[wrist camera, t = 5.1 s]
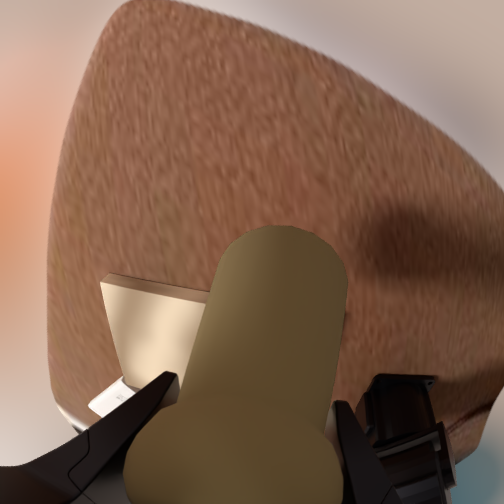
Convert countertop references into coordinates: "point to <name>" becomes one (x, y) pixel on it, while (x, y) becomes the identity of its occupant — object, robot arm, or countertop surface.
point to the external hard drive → (112, 397)
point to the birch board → (151, 326)
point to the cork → (253, 384)
